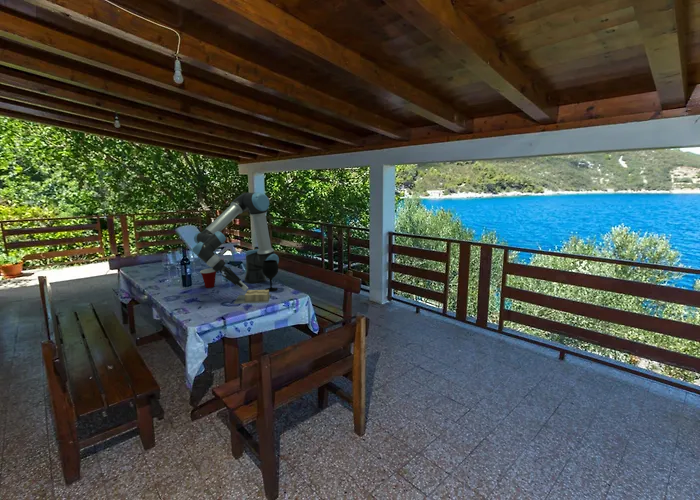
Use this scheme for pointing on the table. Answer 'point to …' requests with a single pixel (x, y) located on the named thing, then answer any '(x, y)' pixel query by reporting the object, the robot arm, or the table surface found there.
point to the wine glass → (270, 272)
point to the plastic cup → (208, 277)
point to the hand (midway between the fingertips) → (246, 289)
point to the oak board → (256, 295)
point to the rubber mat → (241, 299)
